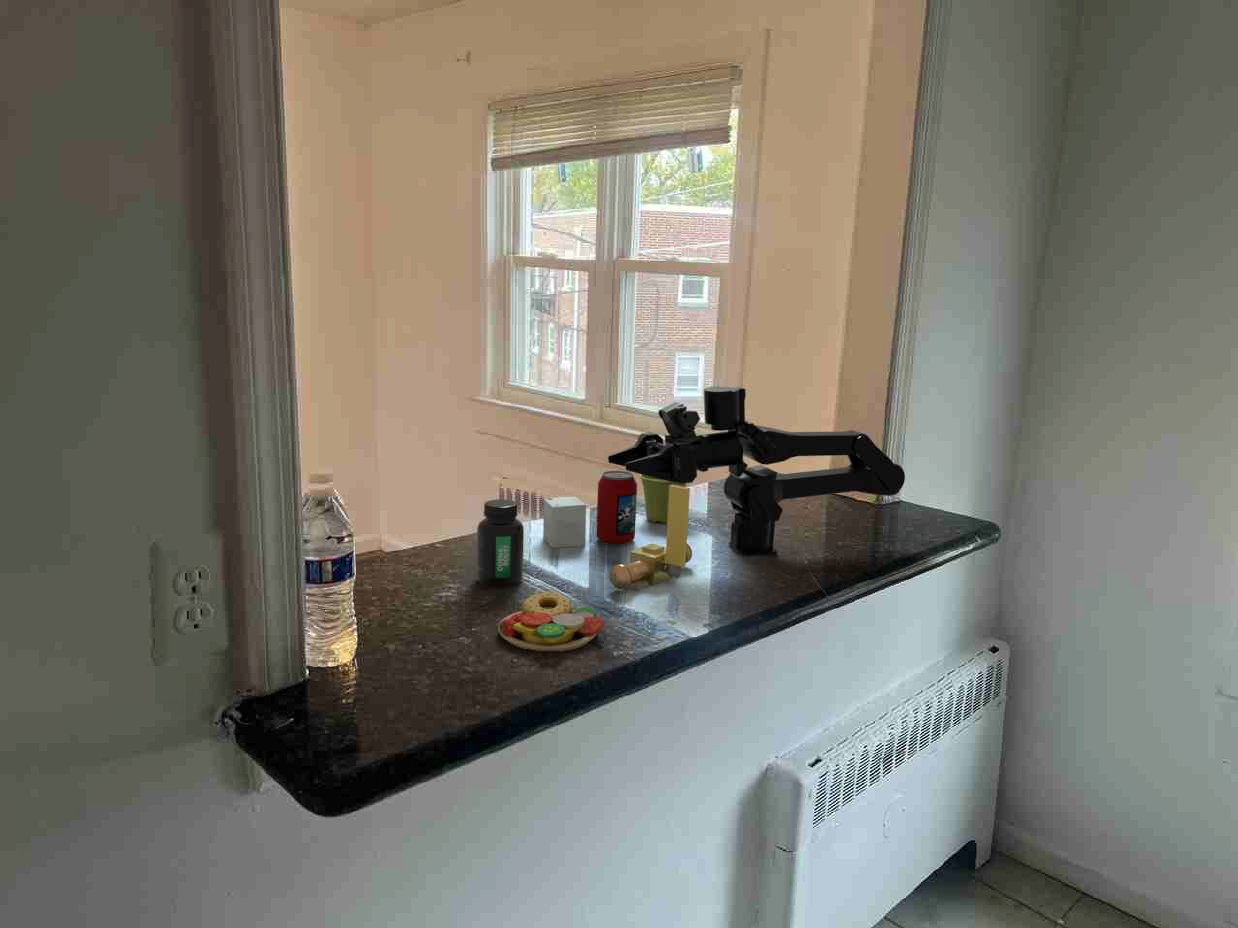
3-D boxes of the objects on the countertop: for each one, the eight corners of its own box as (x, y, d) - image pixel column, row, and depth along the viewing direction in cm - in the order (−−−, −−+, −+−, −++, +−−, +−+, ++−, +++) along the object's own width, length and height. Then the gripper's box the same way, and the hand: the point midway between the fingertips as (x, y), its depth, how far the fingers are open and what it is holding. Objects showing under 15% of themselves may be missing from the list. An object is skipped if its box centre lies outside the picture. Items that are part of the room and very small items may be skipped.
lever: (670, 573, 138) (675, 483, 135) (686, 577, 136) (692, 487, 133) (662, 576, 136) (666, 486, 133) (678, 581, 134) (683, 489, 131)
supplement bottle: (511, 590, 131) (512, 511, 128) (469, 584, 133) (469, 506, 130) (529, 576, 137) (531, 500, 134) (488, 570, 139) (489, 495, 136)
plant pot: (654, 528, 165) (656, 482, 163) (628, 515, 173) (630, 471, 171) (696, 523, 170) (699, 478, 168) (669, 510, 178) (671, 468, 176)
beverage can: (630, 548, 153) (633, 480, 150) (592, 544, 154) (594, 476, 151) (637, 537, 159) (640, 471, 157) (600, 534, 160) (603, 468, 158)
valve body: (672, 561, 147) (674, 531, 146) (699, 568, 144) (701, 538, 143) (603, 588, 133) (604, 556, 132) (632, 597, 130) (633, 564, 129)
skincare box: (585, 546, 153) (587, 504, 151) (551, 549, 151) (552, 506, 149) (575, 536, 159) (576, 495, 157) (542, 538, 157) (542, 497, 155)
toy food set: (544, 608, 125) (544, 586, 125) (622, 632, 118) (622, 609, 117) (477, 637, 114) (477, 613, 114) (557, 666, 107) (558, 641, 106)
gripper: (682, 399, 155) (596, 408, 151) (727, 406, 138) (631, 417, 133) (686, 462, 157) (601, 473, 153) (731, 477, 140) (636, 491, 135)
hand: (616, 463), depth 143 cm, fingers open, 9 cm apart
